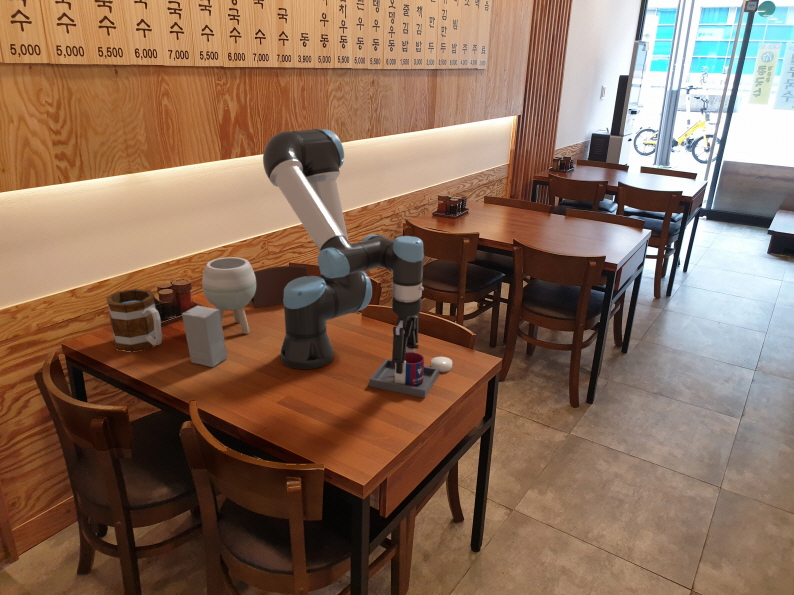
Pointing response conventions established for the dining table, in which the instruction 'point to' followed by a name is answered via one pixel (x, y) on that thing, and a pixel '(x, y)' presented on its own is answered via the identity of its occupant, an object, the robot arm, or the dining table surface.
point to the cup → (414, 369)
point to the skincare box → (204, 336)
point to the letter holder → (274, 284)
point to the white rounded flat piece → (442, 364)
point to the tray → (386, 380)
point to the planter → (230, 286)
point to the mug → (134, 320)
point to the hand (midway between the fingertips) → (404, 376)
